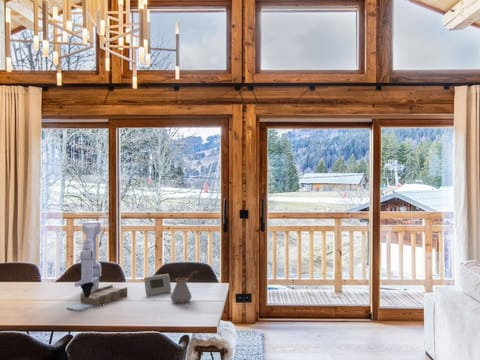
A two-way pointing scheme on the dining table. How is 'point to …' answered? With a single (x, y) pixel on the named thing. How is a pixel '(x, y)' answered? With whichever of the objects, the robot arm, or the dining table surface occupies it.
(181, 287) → the coffee pot
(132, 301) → the dining table surface
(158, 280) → the digital clock
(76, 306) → the lid plate
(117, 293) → the slide box
